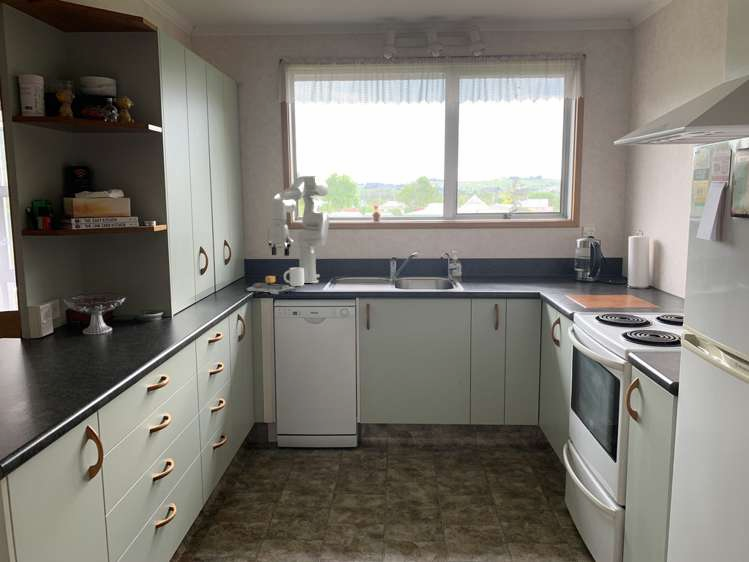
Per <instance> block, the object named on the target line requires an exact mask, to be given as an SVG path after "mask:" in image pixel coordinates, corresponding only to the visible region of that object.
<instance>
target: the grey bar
mask: <svg viewBox="0 0 749 562" xmlns="http://www.w3.org/2000/svg"><path fill="white" fill-rule="evenodd" d="M292 290H295V291H297V289H296V287H294V289H289V290H285V291H281V292H280V294H279V295H284V294H286V293H285V292H288V291H292ZM292 292H293V291H292ZM288 293H289V292H288Z"/></svg>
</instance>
